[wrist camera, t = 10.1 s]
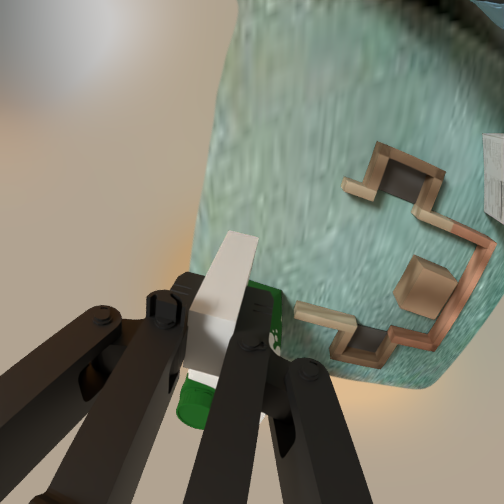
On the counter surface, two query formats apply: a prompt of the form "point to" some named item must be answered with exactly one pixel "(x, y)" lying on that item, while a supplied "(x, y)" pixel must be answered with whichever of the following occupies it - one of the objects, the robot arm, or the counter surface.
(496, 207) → the light bulb box
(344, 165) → the counter surface
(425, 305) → the block
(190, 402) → the milk carton
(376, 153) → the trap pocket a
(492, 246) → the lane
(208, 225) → the counter surface
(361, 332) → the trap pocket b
